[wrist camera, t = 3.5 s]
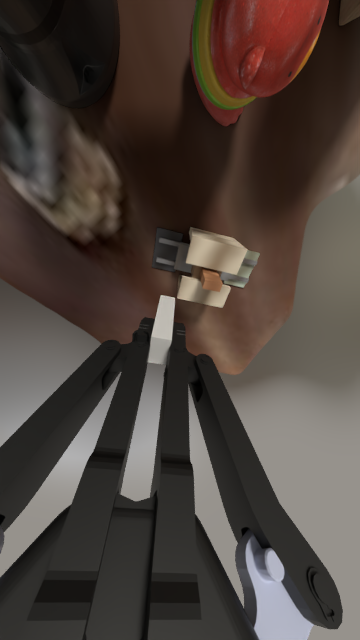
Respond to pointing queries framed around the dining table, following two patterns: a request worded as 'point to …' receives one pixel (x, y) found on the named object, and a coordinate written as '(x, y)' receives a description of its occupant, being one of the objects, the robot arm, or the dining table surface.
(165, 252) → the tunnel
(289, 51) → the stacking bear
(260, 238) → the dining table surface
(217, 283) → the sled
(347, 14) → the wooden block
